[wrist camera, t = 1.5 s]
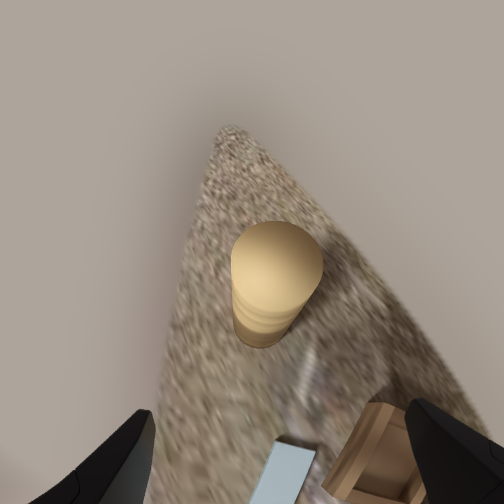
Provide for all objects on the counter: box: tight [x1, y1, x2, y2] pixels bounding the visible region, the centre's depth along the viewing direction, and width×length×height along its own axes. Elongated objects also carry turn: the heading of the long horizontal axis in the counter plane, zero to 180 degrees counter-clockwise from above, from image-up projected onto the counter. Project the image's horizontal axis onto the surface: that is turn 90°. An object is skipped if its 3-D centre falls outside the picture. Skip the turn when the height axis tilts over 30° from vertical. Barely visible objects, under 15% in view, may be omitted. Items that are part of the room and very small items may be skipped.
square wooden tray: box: [321, 402, 426, 504], centre depth 17 cm, size 8×8×3 cm
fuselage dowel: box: [231, 221, 324, 348], centre depth 18 cm, size 4×4×11 cm
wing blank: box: [248, 440, 315, 504], centre depth 16 cm, size 10×3×1 cm, turn 160°
